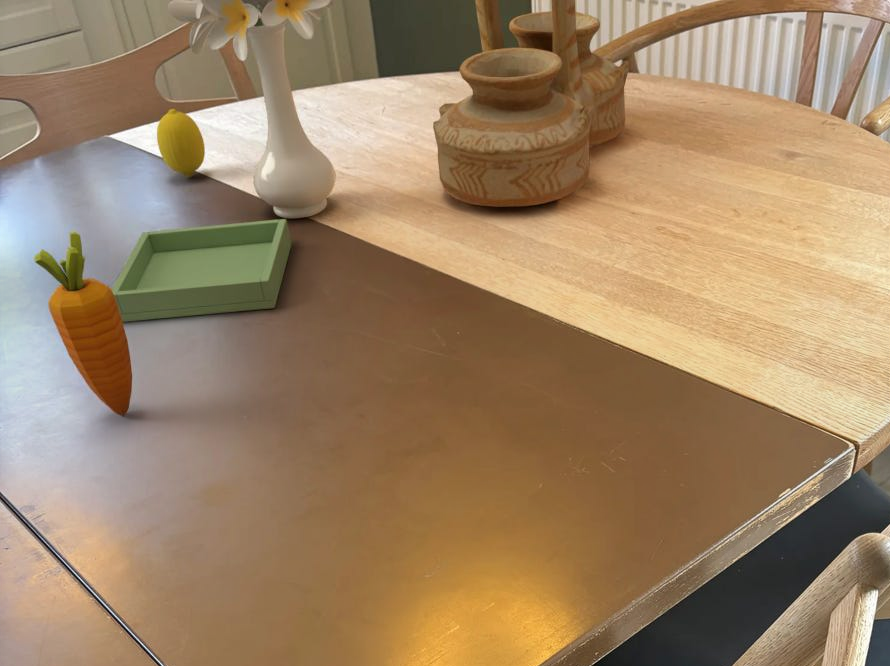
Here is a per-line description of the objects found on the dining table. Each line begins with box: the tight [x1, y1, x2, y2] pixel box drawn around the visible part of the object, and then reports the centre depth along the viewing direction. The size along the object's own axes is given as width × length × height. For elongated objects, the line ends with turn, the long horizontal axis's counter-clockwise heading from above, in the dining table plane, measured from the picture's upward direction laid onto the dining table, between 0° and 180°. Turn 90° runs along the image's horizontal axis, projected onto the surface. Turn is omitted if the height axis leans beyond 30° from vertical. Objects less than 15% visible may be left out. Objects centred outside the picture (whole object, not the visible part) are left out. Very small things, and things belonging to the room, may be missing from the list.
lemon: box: [156, 108, 206, 178], centre depth 126 cm, size 6×6×8 cm
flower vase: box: [167, 0, 337, 220], centre depth 109 cm, size 13×18×25 cm
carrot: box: [33, 231, 133, 417], centre depth 81 cm, size 5×5×15 cm
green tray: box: [110, 218, 292, 323], centre depth 104 cm, size 16×16×3 cm
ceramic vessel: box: [432, 0, 631, 208], centre depth 114 cm, size 34×18×25 cm, turn 162°
